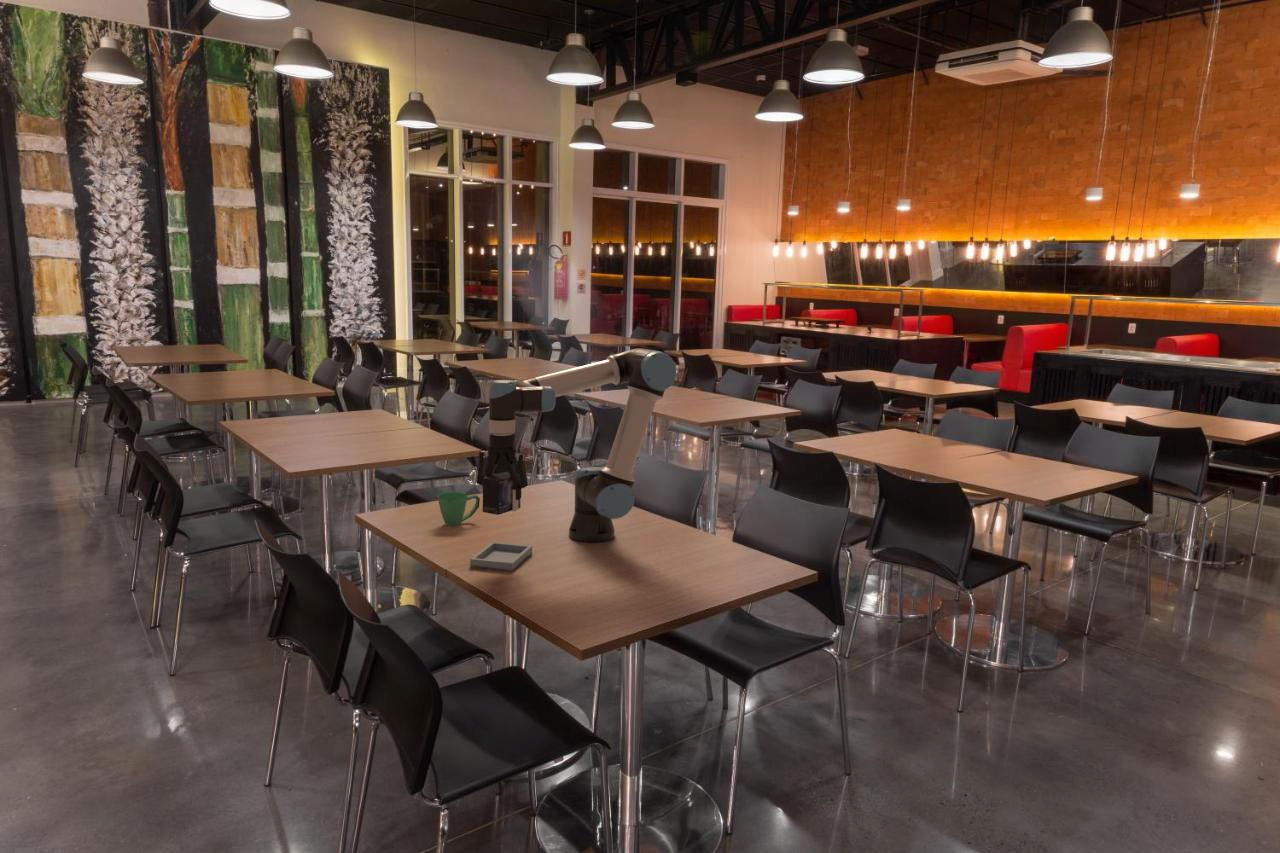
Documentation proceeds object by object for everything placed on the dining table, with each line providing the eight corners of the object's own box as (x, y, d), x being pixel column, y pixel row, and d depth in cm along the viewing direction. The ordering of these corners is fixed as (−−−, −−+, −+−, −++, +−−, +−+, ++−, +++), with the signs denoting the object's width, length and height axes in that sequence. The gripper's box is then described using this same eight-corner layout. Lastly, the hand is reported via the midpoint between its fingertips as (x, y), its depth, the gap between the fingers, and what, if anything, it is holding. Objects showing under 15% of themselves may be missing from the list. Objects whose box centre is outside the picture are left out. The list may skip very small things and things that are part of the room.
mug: (444, 529, 281) (444, 500, 280) (433, 522, 289) (433, 494, 287) (485, 523, 289) (485, 495, 288) (473, 517, 297) (473, 489, 296)
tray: (532, 553, 260) (532, 545, 259) (512, 571, 243) (512, 563, 243) (492, 549, 262) (492, 541, 262) (470, 567, 246) (470, 558, 245)
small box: (498, 515, 244) (498, 480, 242) (481, 512, 247) (480, 477, 246) (522, 508, 253) (521, 473, 251) (505, 505, 256) (504, 471, 255)
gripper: (539, 433, 248) (539, 508, 252) (474, 428, 252) (474, 502, 256) (531, 437, 241) (530, 515, 244) (464, 433, 245) (464, 509, 249)
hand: (502, 508), depth 250 cm, fingers closed on small box, 8 cm apart
